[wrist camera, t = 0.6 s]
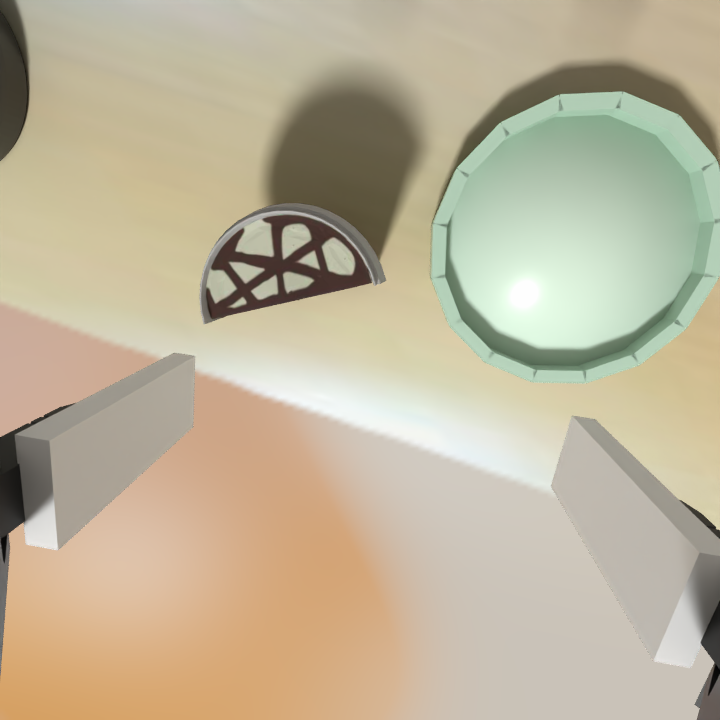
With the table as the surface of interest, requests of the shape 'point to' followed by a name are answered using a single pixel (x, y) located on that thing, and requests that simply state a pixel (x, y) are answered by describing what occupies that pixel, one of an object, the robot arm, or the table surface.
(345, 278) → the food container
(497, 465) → the table surface
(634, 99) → the tray
